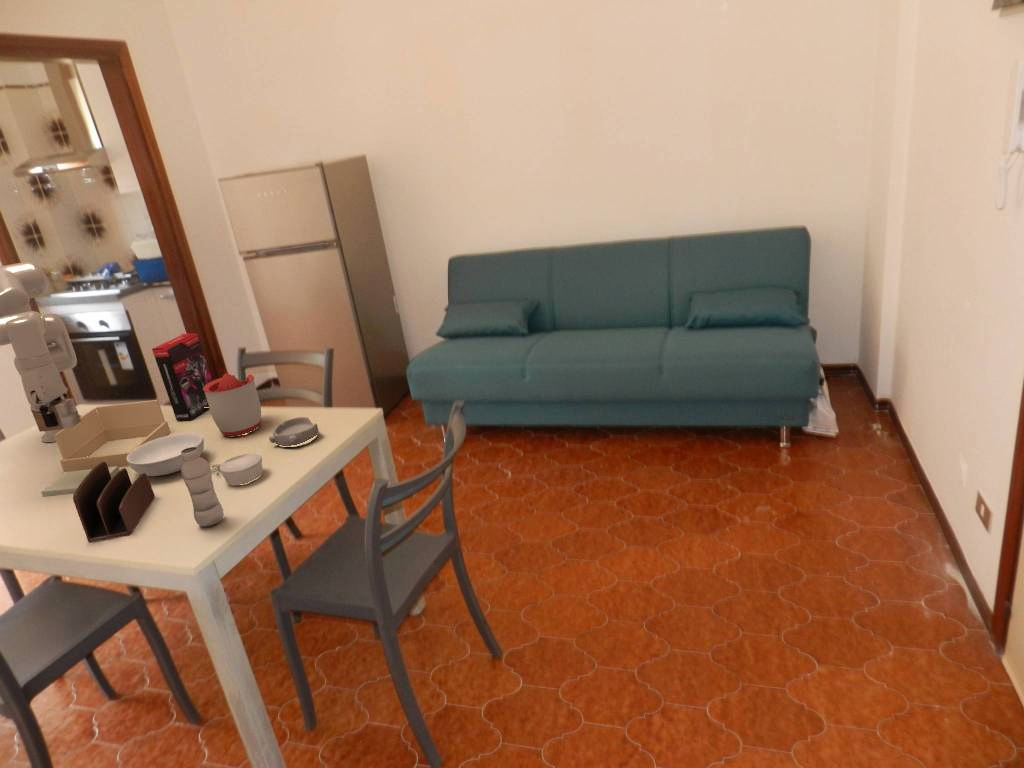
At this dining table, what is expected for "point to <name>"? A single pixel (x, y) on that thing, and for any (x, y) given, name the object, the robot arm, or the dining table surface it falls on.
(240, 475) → the ramekin
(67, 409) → the walnut box
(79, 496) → the letter holder
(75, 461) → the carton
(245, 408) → the citrus juicer
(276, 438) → the dish
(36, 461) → the dining table surface
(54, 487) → the board
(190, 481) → the plastic bottle
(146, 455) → the serving bowl
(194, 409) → the graphics card box
